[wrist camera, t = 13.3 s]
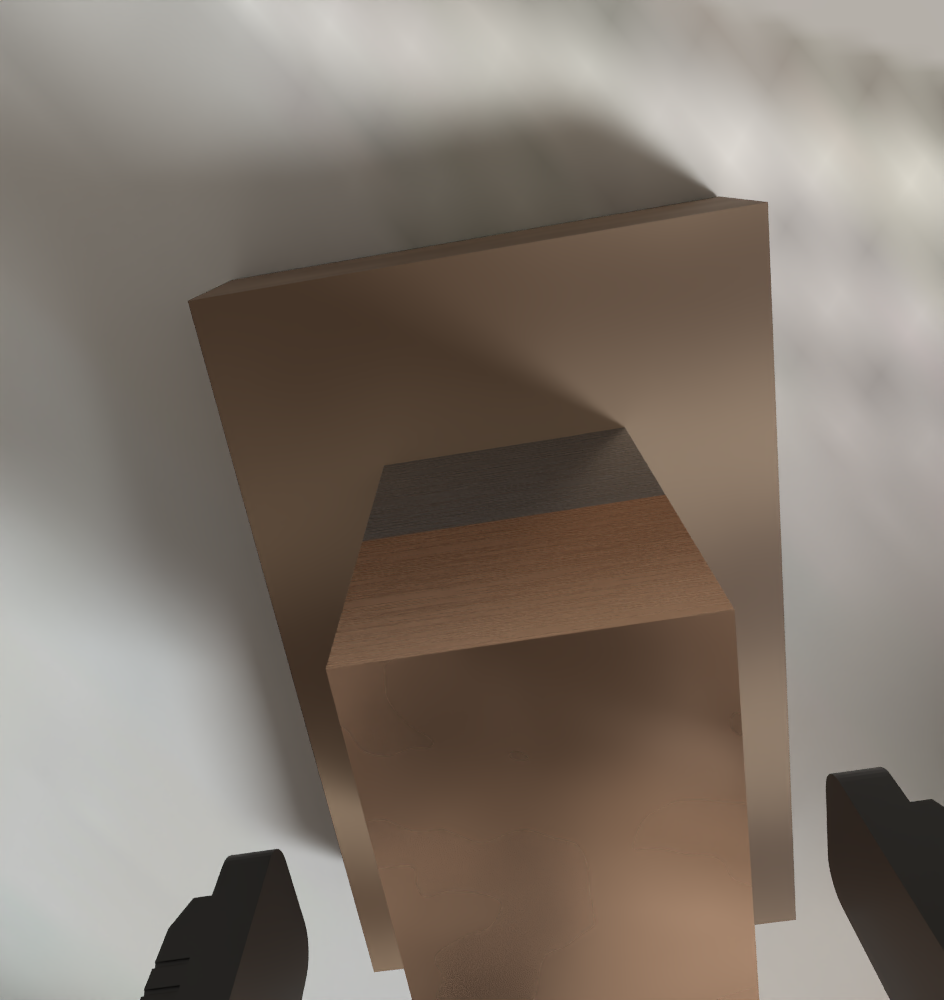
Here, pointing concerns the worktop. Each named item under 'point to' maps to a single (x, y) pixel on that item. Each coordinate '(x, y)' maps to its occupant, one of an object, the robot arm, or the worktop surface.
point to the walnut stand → (515, 438)
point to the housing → (548, 730)
